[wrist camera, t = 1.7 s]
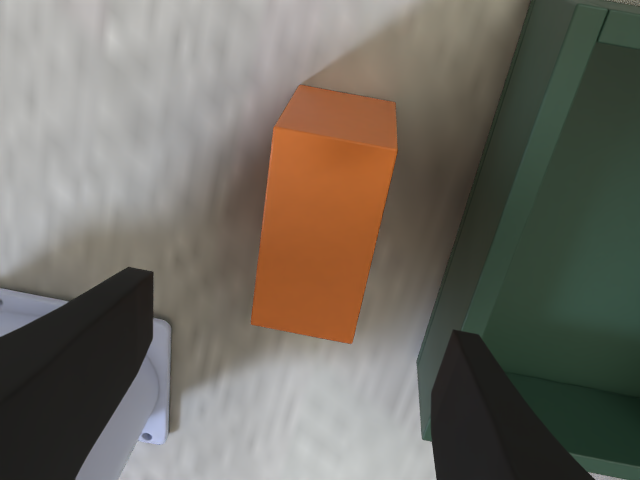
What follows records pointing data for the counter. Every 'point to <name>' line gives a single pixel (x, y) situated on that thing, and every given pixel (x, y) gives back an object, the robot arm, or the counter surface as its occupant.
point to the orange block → (323, 211)
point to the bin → (558, 235)
